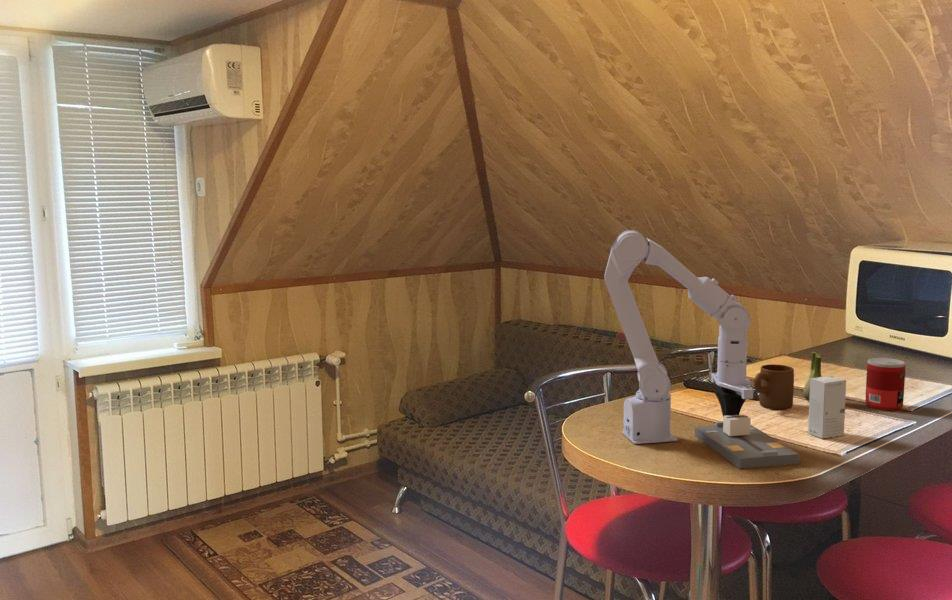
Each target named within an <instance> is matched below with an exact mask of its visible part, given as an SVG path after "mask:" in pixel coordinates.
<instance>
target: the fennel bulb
mask: <svg viewBox="0 0 952 600" xmlns="http://www.w3.org/2000/svg"><path fill="white" fill-rule="evenodd" d="M810 360H811V361H810V362H811V364H810V372H809V376H808V378H807V381H806V383H805V384H804V387H803V390H802V395H803V398H804V399H805V400H807V402H809V399H810V379H811V378H818V377H823V376H822V368H821V367H822V355H821V354H818V352H815V351H812V352H811V359H810Z"/></svg>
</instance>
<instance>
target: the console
mask: <svg viewBox="0 0 952 600" xmlns="http://www.w3.org/2000/svg"><path fill="white" fill-rule="evenodd" d="M694 436H695V437H696V438H697V439H698V440H700V441H701V442H703V443H704V444H705V445H706V446H708V447H710V448H711V449H712V450H713V451H715V452H716V453H717V454H719V455H720V456H722V457H723V458H725V459H726V460H728V462H730V463H731V464H732V465H734V466H735V467H737V468H738V469H739V470H741V469H742V470H743V469H754V468H766V467H767V468H768V467H780V466H792V465H800V453H798V452H797V451H795V450H793V449H791V448H790V447H788V446H787V445H785V444H784V443H782V442H780V441H779V440H778V439H777V440H776V439H775V438H774V437H772V436H770V435H768V434H767V433H765V432H763V431H762V430H761V429H759V428H757V427H755V426H754V425H752V424H750V435H738V436H729V435H727V434H726V433H724V432H723V420H721V421H720V420H719V421H715V422H714V425H705V426H704V425H702V426H700V425H699V426H694Z"/></svg>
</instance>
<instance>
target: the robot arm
mask: <svg viewBox="0 0 952 600" xmlns="http://www.w3.org/2000/svg"><path fill="white" fill-rule="evenodd" d="M607 260H608V261H607V263H606V264H607V265H606V267H605V271H604V277H603V278H604V284H605V286H606V289H607V291H608V294H609V296H610V299H611V302H612V304H613V307H614V309H615V312H616V315H617V317H618V320H619V323H620V325H621V328H622V330H623V331H622V332H623V334H624V335H625V339H626V341H627V344H628V346H629V349H630V351H631V352H630V353H631V354H632V357H633V360H634V364H635V366H636V369H637V380H638V382H639V383H638V388H639V389H637V391H636V392H635V396H634V395H633V396H632V397H627V398H625V400H624V402H623V418H622V419H623V420H622V421H623V426H622V427H623V430H622V431H621V433H622V434H623V435H624V436H625V437H626V438H627V439H629V440H630V441H631V442H632V443H633V444H635V445H641V444H652V443H654V444H655V443H666V442H667V443H668V442H677V441H678V438H677V437H676V436H675V435H673V433H671V421H672V420H671V416H672V415H671V413H672V412H671V411H672V410H671V409H672V405H671V404H672V394H671V393H670V390H671V386H672V385H671V380H670V377H669V376H668V371H667V368H666V367H665V366H664V364H662V363H661V362H660V361H659V358H658V357H657V355H656V352H655V349H654V347H653V345H652V342H651V339H650V336H649V334H648V330H647V329H646V325H645V323H644V321H643V318H642V315H641V312H640V310H639V308H638V305H637V302H636V299H635V297H634V294H633V291H632V289H631V286H630V284H629V279H630V277H631V275H632V274H633V272H634V270H635V268H636V267H637V266H638V265H639V264H640V263H641V262H642V261H643V263H644V265H649V266H656V267H659V268H661V269H662V270H663V271H664V272H666V273H667V274H668V275H669V276H670V277H672V278H673V279H674V280H675V281H677V282H678V283H680V284H681V285H682V286H683V287H685V288H686V289H687V295H688V296H687V298H688V299H689V300H690V301H692V302H693V303H694V304H695V305H696V306H697V307H699V308H700V309H701V310H702V311H704V312H705V313H706V314H707V315H709V316H710V317H711V318H714V319H715V318H716V320H717V323H718V324H720V325H719V326H718V328H719V329H718V337H717V365H716V366H717V367H716V368H717V371H716V372H712V373H710V374H711V376H710V377H711V378H710V379H711V380H710V381H711V383H713V384H716V386H718V387H720V388H717V389H714V394H715V396H716V398H717V400H718V403H719V407H720V409H721V414H722V417H723V416H726V415H740V413H741V410H742V407H743V405H744V403H745V402H746V401H747V400H753V399H754V389H753V388H751V386H750V385H751V384H752V380H750V379H749V378H747V366H748V365H747V361H748V337H747V335H748V329H749V327H750V326H751V322H752V319H751V318H750V317H751V316H750V313H749V310H748V309H747V308H746V307H745V306H743V304H741V303H740V301H739V300H737V297H736V296H735V295H734V294H731V295H730V294H729V293H727V291H725V289H724V288H721V287H720V285H718V284H719V281H718V280H716V279H715V278H714V277H713V278H709V277H708V276H700V277H699V276H696V275H695V274H694V273H693V272H692V271H691V270H689V269H688V268H687V267H686V266H685V265H684V264H683V263H682V262H680V261H679V260H678V259H677V258H676V257H675V256H673V255H672V254H671V253H670V252H669V251H668V250H666V249H665V247H663V246H662V245H660V244H658V243H656V242H655V241H653V240H651V239H650V238H649V237H646V238H645V237H644V235H643V234H642V233H641V232H639V231H637V230H635V229H628V230H625V231H622V232H621V233H619V235H618V236H617V238H616V239H615V241H614V242H613V243H612V245H611V247H610V252H609V257H608V259H607Z"/></svg>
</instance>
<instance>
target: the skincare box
mask: <svg viewBox="0 0 952 600" xmlns="http://www.w3.org/2000/svg"><path fill="white" fill-rule="evenodd" d="M846 391H847V380H846V379H844V378H840V377H837V376H832V375H829V376H822V377H818V378H811V379H810V399H809V401H808V402H809V403H808V404H809V405H808V426H807V427H808V428H807V433H808V435H811V436H813V435H814V436H813V437H815V436H817V437H816V438H818V437H820V438H819V439H821V438H825V439H831V438H830V437H832V438H837V437H836V436H838V437H842V436H841V435H843V436H844V435H845V417H846V416H845V414H846V413H845V412H846V396H847V395H846Z"/></svg>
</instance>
